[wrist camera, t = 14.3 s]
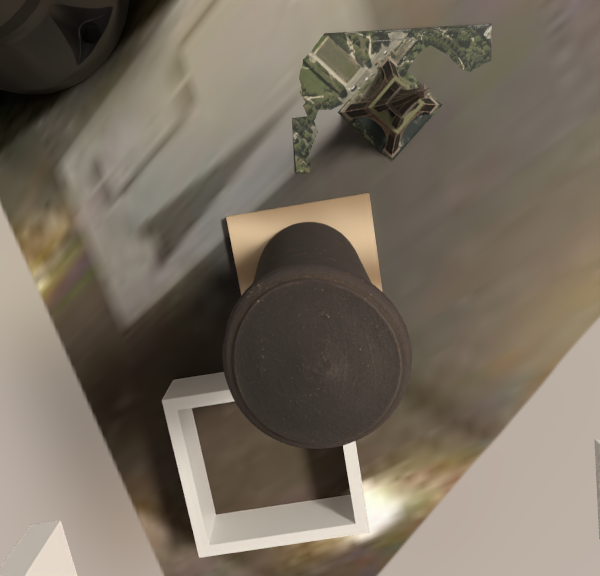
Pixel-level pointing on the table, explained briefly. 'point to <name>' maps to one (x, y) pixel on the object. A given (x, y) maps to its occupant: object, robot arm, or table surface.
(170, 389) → the frame
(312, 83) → the eiffel tower figurine
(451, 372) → the table surface
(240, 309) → the container
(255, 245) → the cork mat
